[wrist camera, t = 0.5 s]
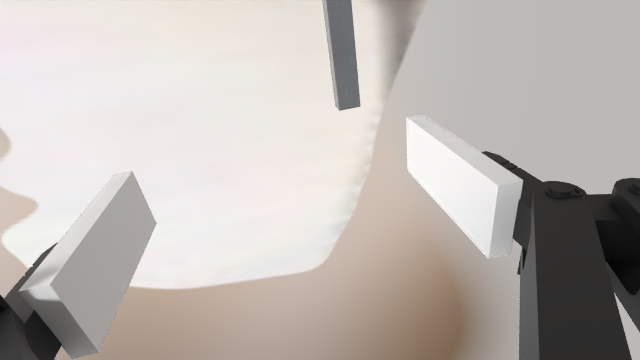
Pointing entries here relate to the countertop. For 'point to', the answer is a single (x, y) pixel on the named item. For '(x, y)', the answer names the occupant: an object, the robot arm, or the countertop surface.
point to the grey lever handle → (342, 52)
